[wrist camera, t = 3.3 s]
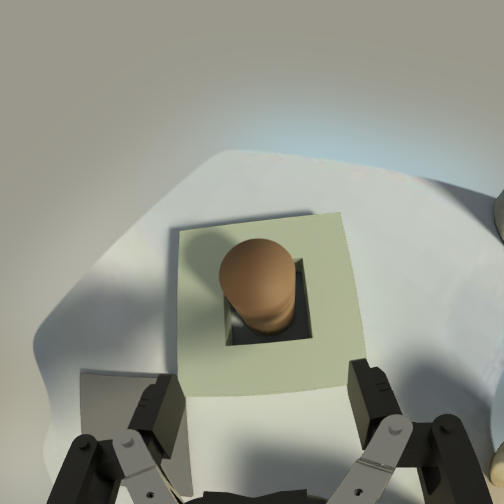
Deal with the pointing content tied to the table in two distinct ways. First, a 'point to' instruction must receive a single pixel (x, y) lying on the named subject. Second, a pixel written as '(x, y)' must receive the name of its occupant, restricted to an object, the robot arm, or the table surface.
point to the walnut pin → (260, 285)
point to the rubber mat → (119, 416)
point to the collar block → (277, 353)
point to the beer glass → (498, 467)
